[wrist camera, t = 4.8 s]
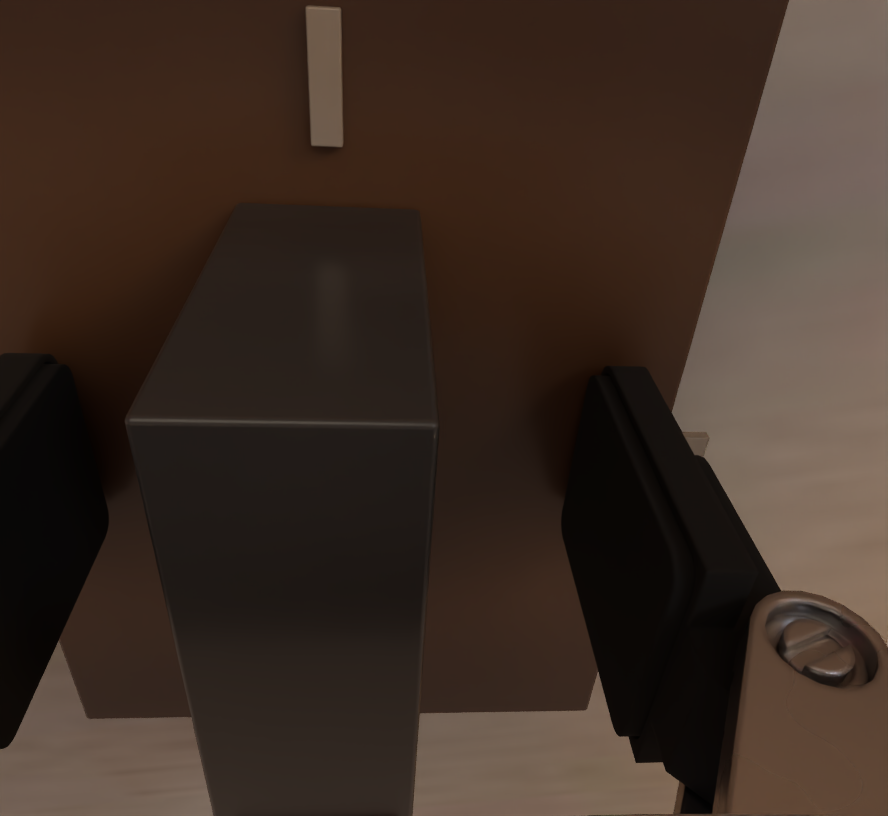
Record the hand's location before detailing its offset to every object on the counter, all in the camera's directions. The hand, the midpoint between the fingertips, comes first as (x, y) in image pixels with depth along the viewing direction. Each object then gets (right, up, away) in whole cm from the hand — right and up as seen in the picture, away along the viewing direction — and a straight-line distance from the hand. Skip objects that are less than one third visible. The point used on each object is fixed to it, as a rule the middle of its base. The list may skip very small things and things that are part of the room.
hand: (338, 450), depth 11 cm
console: (0, +2, +3) cm, 3 cm away
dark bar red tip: (0, 0, 0) cm, 0 cm away
